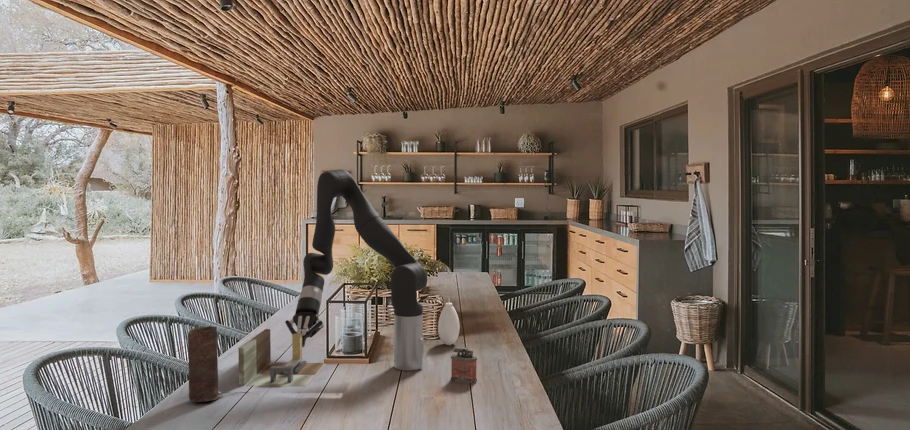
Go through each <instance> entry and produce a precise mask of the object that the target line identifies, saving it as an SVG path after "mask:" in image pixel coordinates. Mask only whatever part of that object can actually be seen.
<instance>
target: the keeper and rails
mask: <svg viewBox="0 0 910 430" xmlns="http://www.w3.org/2000/svg"><path fill="white" fill-rule="evenodd" d="M306 363H307V361H306V360H302V363H301V364H300V365H299V366H298V367H297V368H296V369H295V374H298V373H299V372H300V371H301V370H302V369H303V368H304V367H305V366H306ZM276 371H277V372H280V373H283V374H284V372H287V378H288V383H291V382H292V381H293V366H272V367H271V368H270V374H269V375H270V382H275V381H276V375H277V374H276Z"/></svg>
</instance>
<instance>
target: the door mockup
mask: <svg viewBox="0 0 910 430" xmlns="http://www.w3.org/2000/svg"><path fill="white" fill-rule="evenodd" d="M271 345H272V344H271V328H265V329H263V330H262V331H261V332H260V333H258V334H257V335H255V336H253V337H252V338H251V339H249V340H248V341H246V342H245V343H244V344H242V345H241V346H239V347H238V385H239V387H240V386H242V387H243V386H249V387H307V385H308V383H310V381H311V380H312V379H313V378H314V376H315V375H316V374H317V373H318V372H319V370H320V369H321V368H322V367H323V366H324V364H325V362H306V366H305V367H304V368H303V369H302V370H301V371H300V372H299V373H298V374H295V371H294V372H293V381H292V382H291V383H288V378H287V374H283V373H280V372H277V371H276V381H275V382H270V368H271V367H272V366H285V365H286V364H287V363H288V362H289V361H287V362H282V361H281V362H278V361H277V362H274V361H273V362H271V360H272V359H271V357H272V356H271V352H272V351H271V347H272V346H271Z"/></svg>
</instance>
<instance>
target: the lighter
mask: <svg viewBox="0 0 910 430" xmlns="http://www.w3.org/2000/svg"><path fill="white" fill-rule="evenodd" d="M452 352H453V353H454V354H451V355H450V359H451V376H450V381H451V380H452V381H451V382H454V381H456V382H455V383H460V382H462V383H461V384H470V383H474V384H476V382H477V383H478V379H477V361H478V357H477V356H476V355H475V356H474V349H471V348H470V349H469V348H468V347H464V348H462V347H453V348H452ZM455 353H456V354H455Z"/></svg>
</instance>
